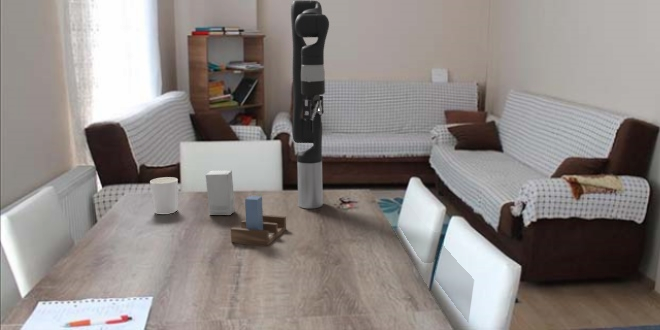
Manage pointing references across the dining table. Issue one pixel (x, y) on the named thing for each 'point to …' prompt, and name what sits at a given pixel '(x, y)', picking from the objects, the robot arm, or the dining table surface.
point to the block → (254, 212)
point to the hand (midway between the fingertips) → (313, 130)
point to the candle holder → (165, 194)
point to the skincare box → (220, 192)
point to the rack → (260, 231)
